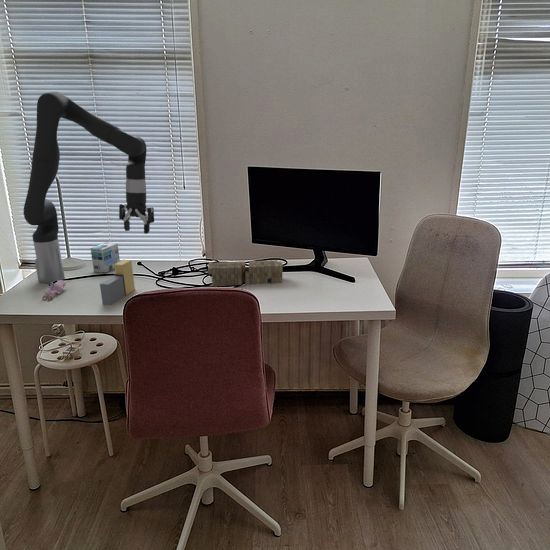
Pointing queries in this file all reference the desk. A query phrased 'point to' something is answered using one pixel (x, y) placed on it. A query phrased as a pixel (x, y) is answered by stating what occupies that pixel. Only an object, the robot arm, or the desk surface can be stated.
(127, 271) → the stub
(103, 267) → the light bulb box
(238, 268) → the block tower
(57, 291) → the rabbit figure
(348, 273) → the desk surface
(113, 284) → the blue-grey block
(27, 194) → the robot arm
